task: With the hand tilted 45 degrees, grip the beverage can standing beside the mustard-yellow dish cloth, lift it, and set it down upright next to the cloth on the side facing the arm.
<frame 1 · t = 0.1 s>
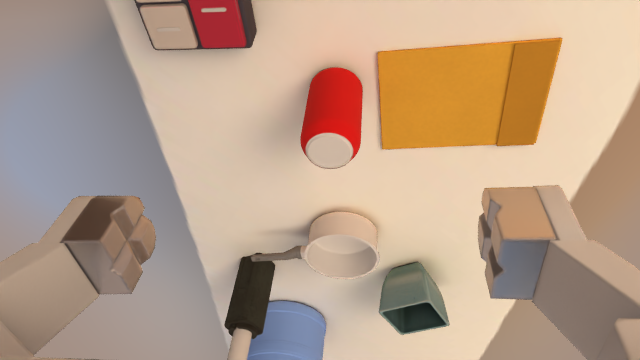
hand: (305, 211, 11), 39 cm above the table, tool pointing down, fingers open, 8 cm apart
beverage can: (336, 84, 54), on the table
water jug: (289, 317, 95), on the table
candle: (258, 261, 82), on the table
cloth: (461, 99, 54), on the table
flower pot: (411, 271, 80), on the table
saucepan: (317, 229, 74), on the table
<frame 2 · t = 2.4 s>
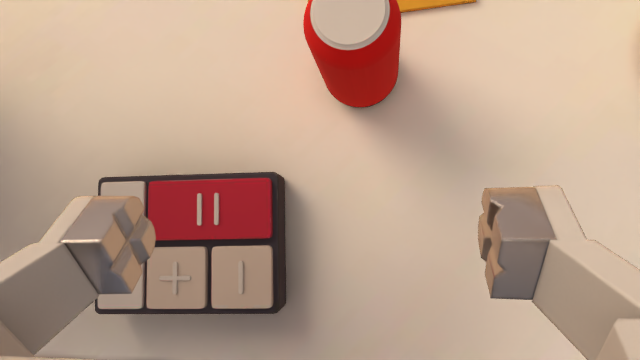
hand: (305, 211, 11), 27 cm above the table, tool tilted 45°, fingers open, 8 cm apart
beverage can: (361, 75, 39), on the table
calculator: (202, 241, 40), on the table
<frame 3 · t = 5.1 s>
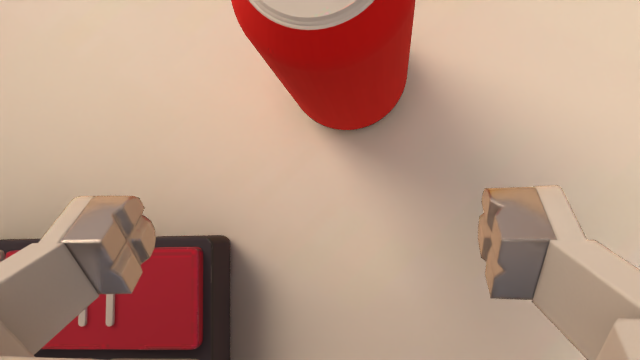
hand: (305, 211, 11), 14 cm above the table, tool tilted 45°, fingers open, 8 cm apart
beverage can: (349, 79, 25), on the table
calculator: (106, 335, 26), on the table
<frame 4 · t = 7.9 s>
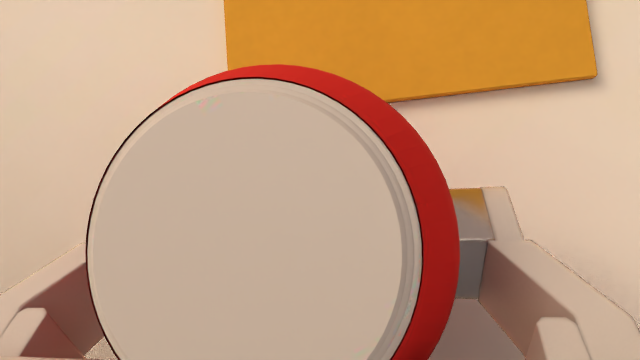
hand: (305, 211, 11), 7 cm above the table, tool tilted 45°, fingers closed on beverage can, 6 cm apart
beverage can: (339, 233, 18), on the table, touching gripper
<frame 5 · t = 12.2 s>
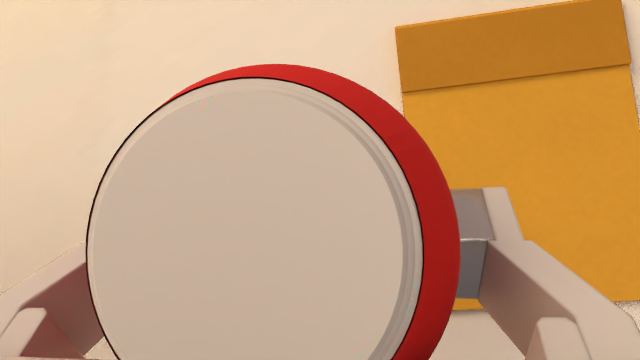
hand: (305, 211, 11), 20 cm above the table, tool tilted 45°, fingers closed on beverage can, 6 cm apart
beverage can: (339, 233, 18), point 13 cm above the table, touching gripper
cloth: (519, 153, 29), on the table
when the fingers open (7 cm above the table, at t = 17.0 s): beverage can stays where it is, on the table.
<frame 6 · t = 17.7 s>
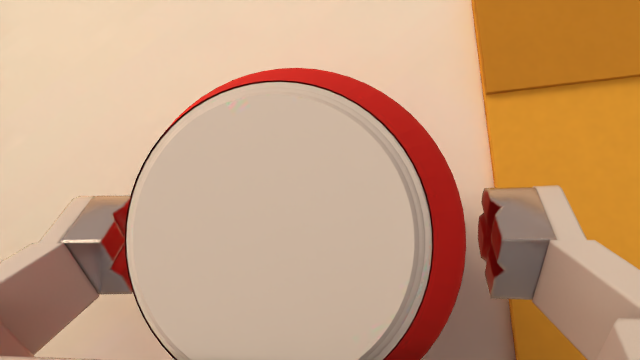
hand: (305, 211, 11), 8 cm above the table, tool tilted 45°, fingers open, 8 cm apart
beverage can: (347, 229, 19), on the table
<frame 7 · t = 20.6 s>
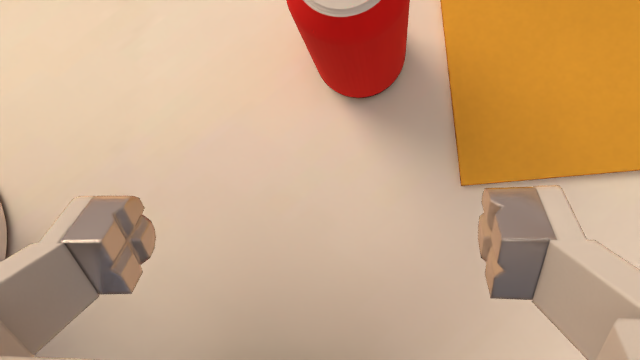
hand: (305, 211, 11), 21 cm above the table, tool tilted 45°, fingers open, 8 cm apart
beverage can: (360, 60, 32), on the table
cloth: (553, 35, 30), on the table
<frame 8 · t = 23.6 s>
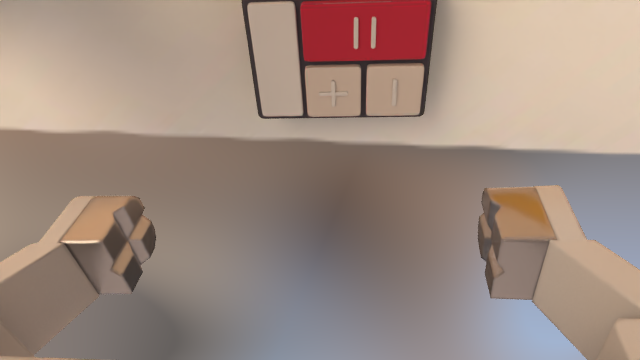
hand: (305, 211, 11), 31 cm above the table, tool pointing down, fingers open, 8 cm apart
calculator: (340, 44, 41), on the table
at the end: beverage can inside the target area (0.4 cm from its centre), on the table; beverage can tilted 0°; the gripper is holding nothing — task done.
